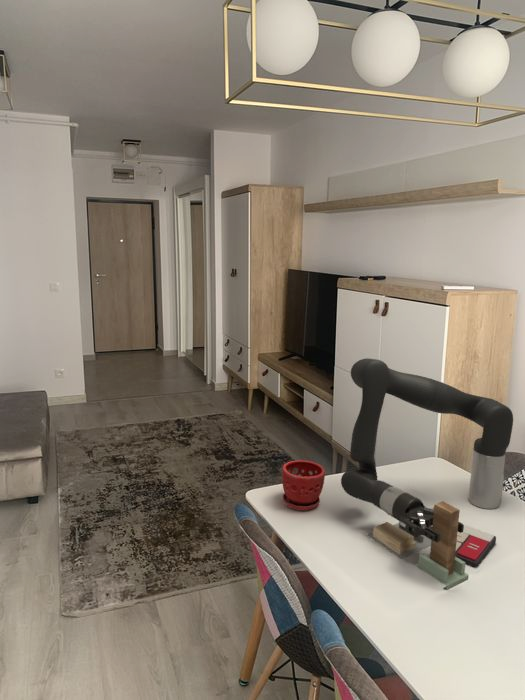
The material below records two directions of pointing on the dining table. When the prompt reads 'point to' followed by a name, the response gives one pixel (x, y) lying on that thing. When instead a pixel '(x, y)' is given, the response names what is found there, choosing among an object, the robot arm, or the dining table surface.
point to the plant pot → (302, 484)
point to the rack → (420, 541)
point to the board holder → (444, 571)
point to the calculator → (473, 545)
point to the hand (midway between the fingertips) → (451, 533)
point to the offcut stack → (394, 538)
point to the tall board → (445, 535)
